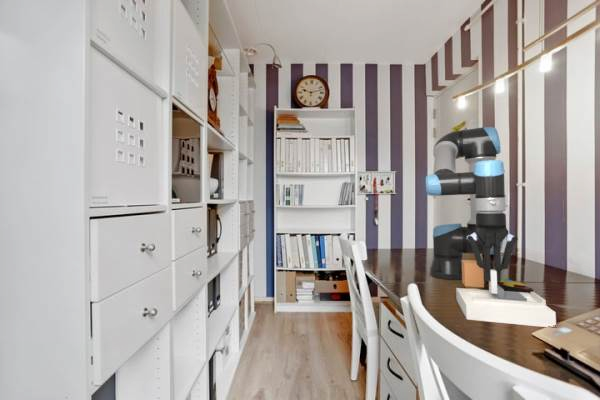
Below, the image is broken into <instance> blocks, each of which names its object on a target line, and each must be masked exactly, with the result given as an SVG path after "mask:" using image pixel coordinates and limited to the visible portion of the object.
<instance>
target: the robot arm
mask: <svg viewBox="0 0 600 400" xmlns="http://www.w3.org/2000/svg"><path fill="white" fill-rule="evenodd" d="M500 140H501V139H500V136H499V133H498V130H497V128H496V127H494V126H488V127H487V126H485V127H484V126H482V127H477V128H469V129H462V130H455V131H451V132H449V133H446V134H445V135H444V136H442V137H441V138H440V139H438V141H436V143H435V145H434V146H433V150H432V153H433V156H434V165H433V173H432V174H428V175H426V176H425V192H426V194H427V195H428V196H435V197H436V196H437V197H439V196H459V195H460V196H465V195H468V196H469V198H470V199H469V201H470V203H469V204H470V219H469V220H467V223H466V226H463V225H462V223H461V222H460V223H449V224H441V225H436V226H434V228H433V230H432V240H433V243H432V245H433V260H432V263H431V266H430V269H429V276H431V275H432V276H431V277H433V276H434V278H438V279H442V280H443V279H444V280H462V260H464V258H463V257H464V256H463V254H472V255H474V258H475V260H476V262H477V265H478V266H479V267H480V268H483V271H484V280H485V282H486V281H489V285H488V290H489V291H490V292H491V293H494V294H497V282H500V281H501V278H502V273H501V272H502V271H503V270H508V269H509V267H510V261H511V257H512V253H513V250H514V246H515V244H516V243H517V241H518V240H519V239H518V238H519V237H518V236H515V235H513V234H510V233H509V230H508V227H507V214H506V213H504V212H505V211H506V195H505V194H506V193H505V192H506V191H505V173H506V171H505V167H504V162H503V161H502V160H499V159H497V155H499V154H500V153H501V141H500ZM456 158H464V161H465V162H466V163H467V164H468V171H467V172H457V171H456V166H457V165H456ZM504 240H506V243H505V248H504V251H503V255H502V258H501V251H502V248H503V243H504ZM481 255H483V259H482V256H481ZM491 255H493V268H494V269H492V267H491Z"/></svg>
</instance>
